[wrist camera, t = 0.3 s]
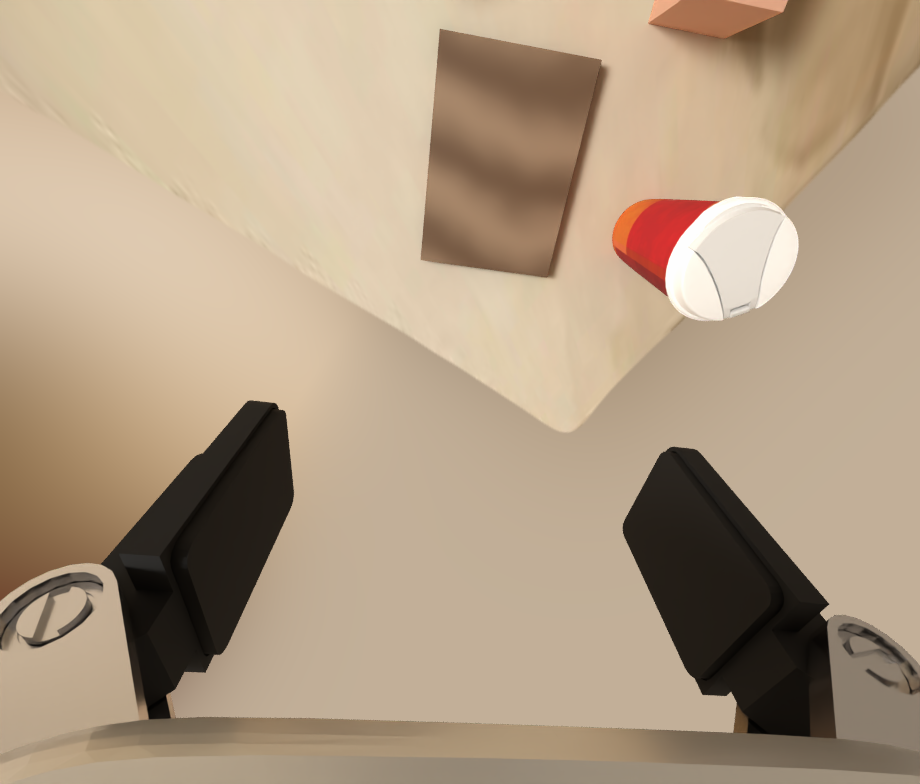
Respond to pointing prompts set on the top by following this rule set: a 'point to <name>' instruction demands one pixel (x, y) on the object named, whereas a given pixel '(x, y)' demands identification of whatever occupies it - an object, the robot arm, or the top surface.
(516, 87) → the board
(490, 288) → the top surface
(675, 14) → the lettered cube
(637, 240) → the paper cup
